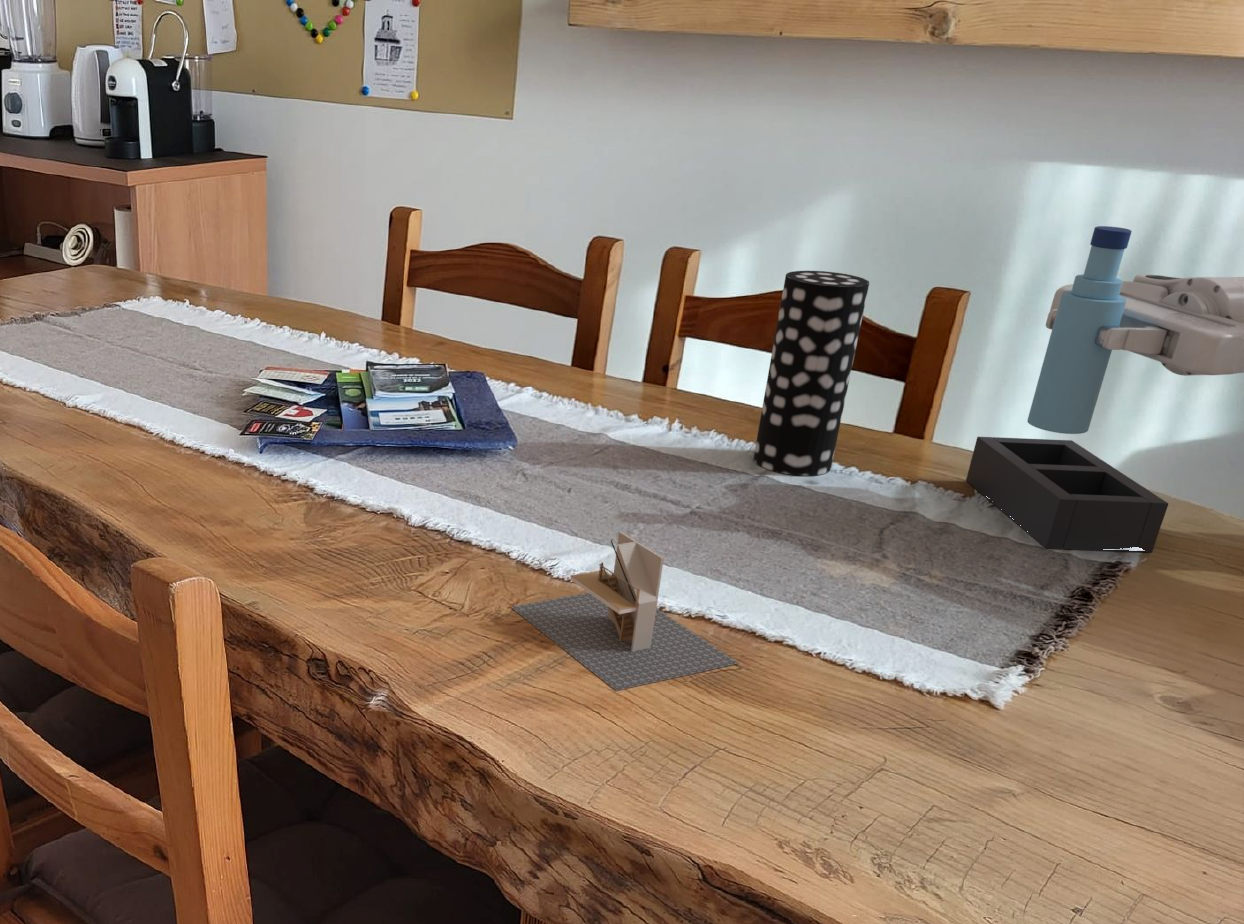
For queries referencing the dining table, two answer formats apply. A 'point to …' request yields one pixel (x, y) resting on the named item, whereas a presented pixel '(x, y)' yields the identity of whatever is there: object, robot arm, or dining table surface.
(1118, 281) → the bottle
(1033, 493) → the holder
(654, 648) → the architectural model
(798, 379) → the spotted tube
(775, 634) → the dining table surface
